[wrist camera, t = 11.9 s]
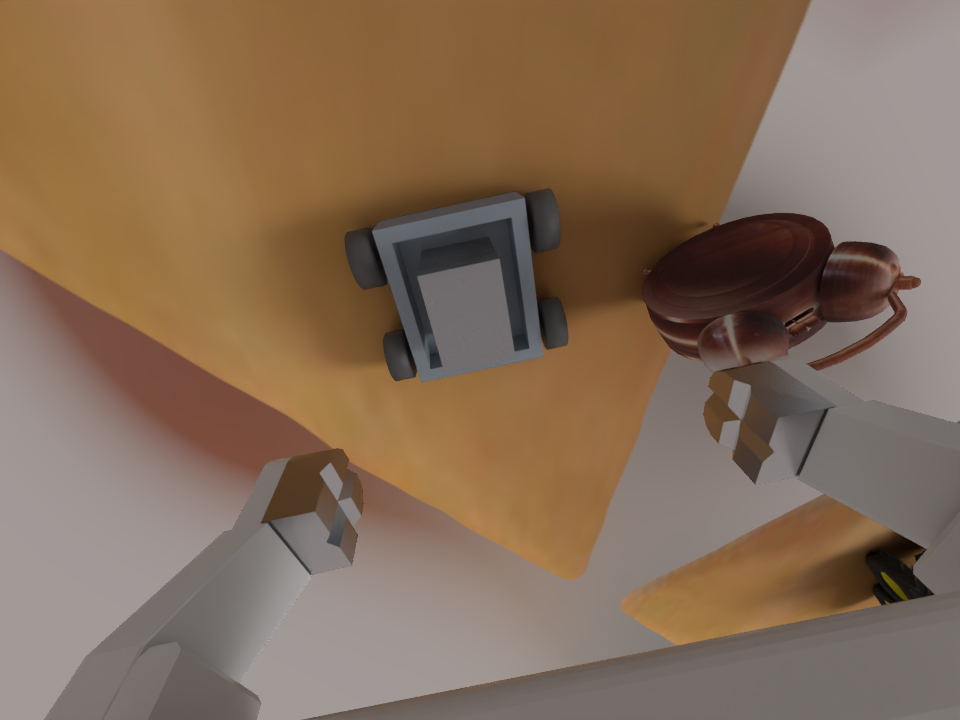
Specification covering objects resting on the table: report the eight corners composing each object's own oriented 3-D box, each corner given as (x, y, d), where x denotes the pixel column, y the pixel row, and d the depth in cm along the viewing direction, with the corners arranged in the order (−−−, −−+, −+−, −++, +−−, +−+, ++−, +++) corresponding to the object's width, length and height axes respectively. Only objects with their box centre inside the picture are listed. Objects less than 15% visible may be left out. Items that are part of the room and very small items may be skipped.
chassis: (352, 226, 27) (339, 239, 24) (542, 185, 27) (557, 192, 23) (401, 364, 33) (396, 390, 30) (556, 332, 33) (569, 354, 29)
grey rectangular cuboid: (421, 250, 27) (417, 276, 22) (488, 236, 27) (499, 258, 22) (443, 334, 31) (444, 373, 26) (503, 321, 31) (515, 358, 26)
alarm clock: (634, 320, 33) (758, 435, 20) (612, 277, 31) (735, 377, 18) (755, 245, 31) (985, 322, 18) (740, 193, 28) (990, 238, 15)
